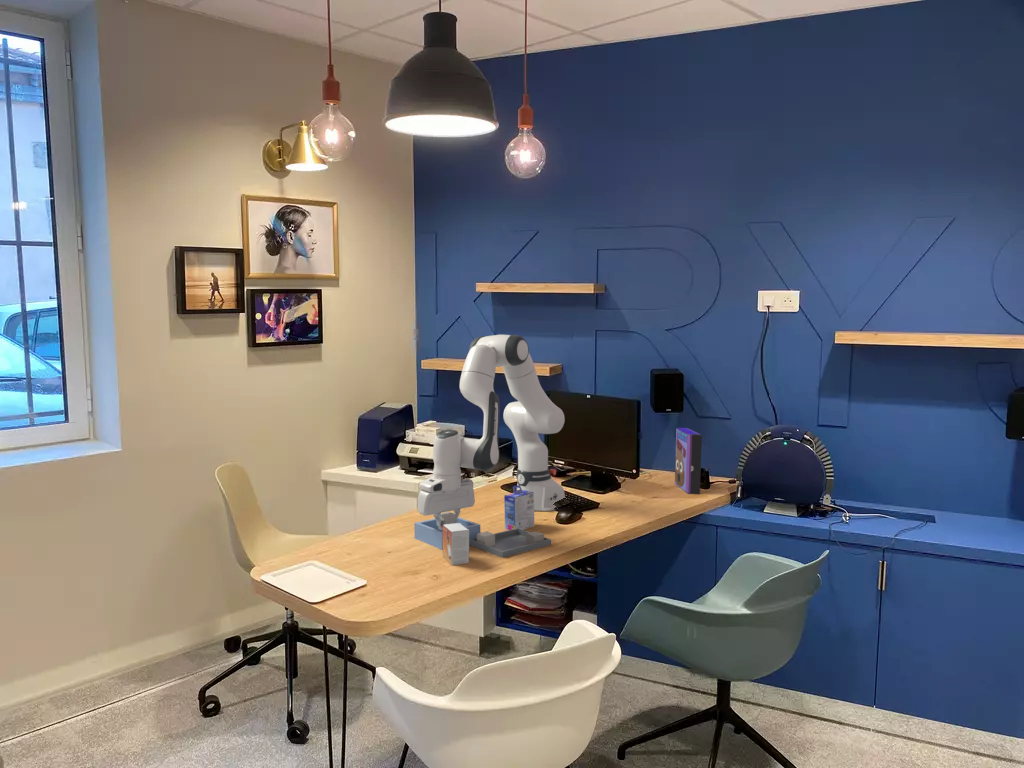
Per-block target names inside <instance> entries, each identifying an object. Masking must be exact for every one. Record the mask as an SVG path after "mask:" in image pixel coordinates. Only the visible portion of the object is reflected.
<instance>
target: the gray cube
mask: <svg viewBox="0 0 1024 768" xmlns="http://www.w3.org/2000/svg"><path fill="white" fill-rule="evenodd" d="M529 532H530V533H526V545H528V544H532V543H536V542H540V541H544V537H545V533H541V532H539V531H537V530H536V531H529Z"/></svg>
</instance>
